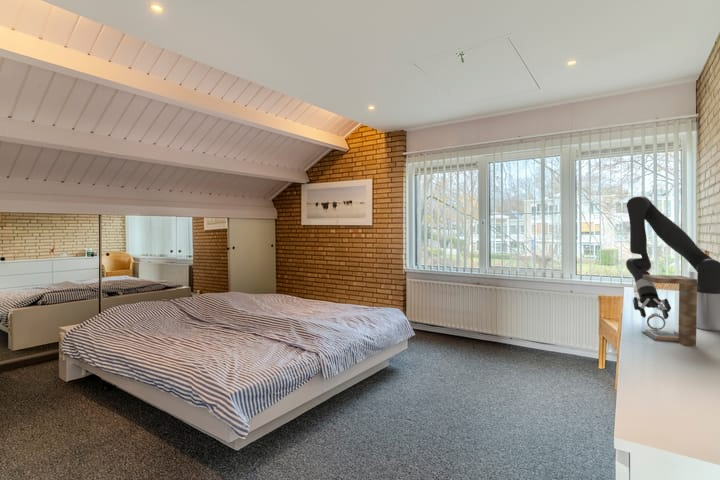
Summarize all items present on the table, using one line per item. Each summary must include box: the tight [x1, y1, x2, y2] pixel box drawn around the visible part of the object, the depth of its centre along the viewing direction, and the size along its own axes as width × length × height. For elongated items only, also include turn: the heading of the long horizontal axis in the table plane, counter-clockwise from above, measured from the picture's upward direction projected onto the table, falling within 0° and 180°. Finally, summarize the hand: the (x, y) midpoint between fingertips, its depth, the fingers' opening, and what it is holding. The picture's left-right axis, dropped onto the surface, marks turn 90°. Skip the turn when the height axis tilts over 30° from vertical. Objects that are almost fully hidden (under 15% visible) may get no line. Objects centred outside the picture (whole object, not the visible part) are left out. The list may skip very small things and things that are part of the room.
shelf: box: [643, 274, 697, 347], centre depth 165 cm, size 14×14×27 cm
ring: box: [646, 312, 667, 331], centre depth 183 cm, size 7×3×8 cm, turn 50°
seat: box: [641, 328, 679, 343], centre depth 170 cm, size 14×14×2 cm
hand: (655, 317), depth 183 cm, fingers open, 8 cm apart
